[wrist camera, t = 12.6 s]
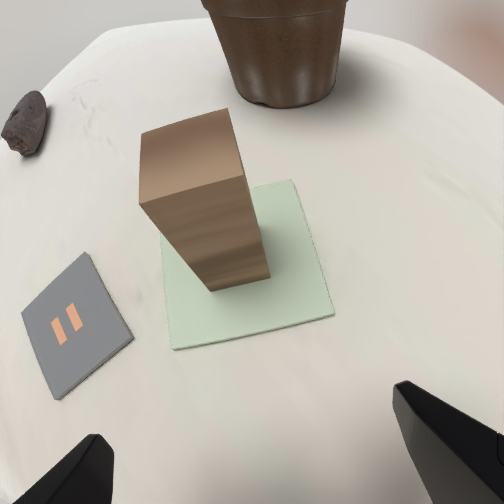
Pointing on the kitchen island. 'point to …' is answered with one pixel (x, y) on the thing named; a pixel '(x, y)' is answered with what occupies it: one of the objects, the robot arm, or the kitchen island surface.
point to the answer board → (256, 293)
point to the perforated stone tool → (26, 124)
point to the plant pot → (280, 47)
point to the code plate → (74, 326)
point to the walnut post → (203, 199)
